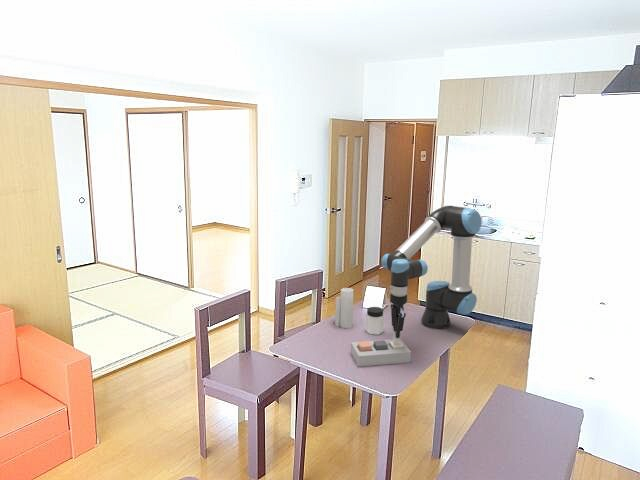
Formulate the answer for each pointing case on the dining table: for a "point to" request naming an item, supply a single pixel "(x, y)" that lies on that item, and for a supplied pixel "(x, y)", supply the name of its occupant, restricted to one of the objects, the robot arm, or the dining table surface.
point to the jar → (374, 320)
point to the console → (380, 355)
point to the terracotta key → (364, 346)
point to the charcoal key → (380, 345)
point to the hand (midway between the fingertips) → (396, 343)
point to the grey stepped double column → (344, 308)
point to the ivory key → (396, 345)
